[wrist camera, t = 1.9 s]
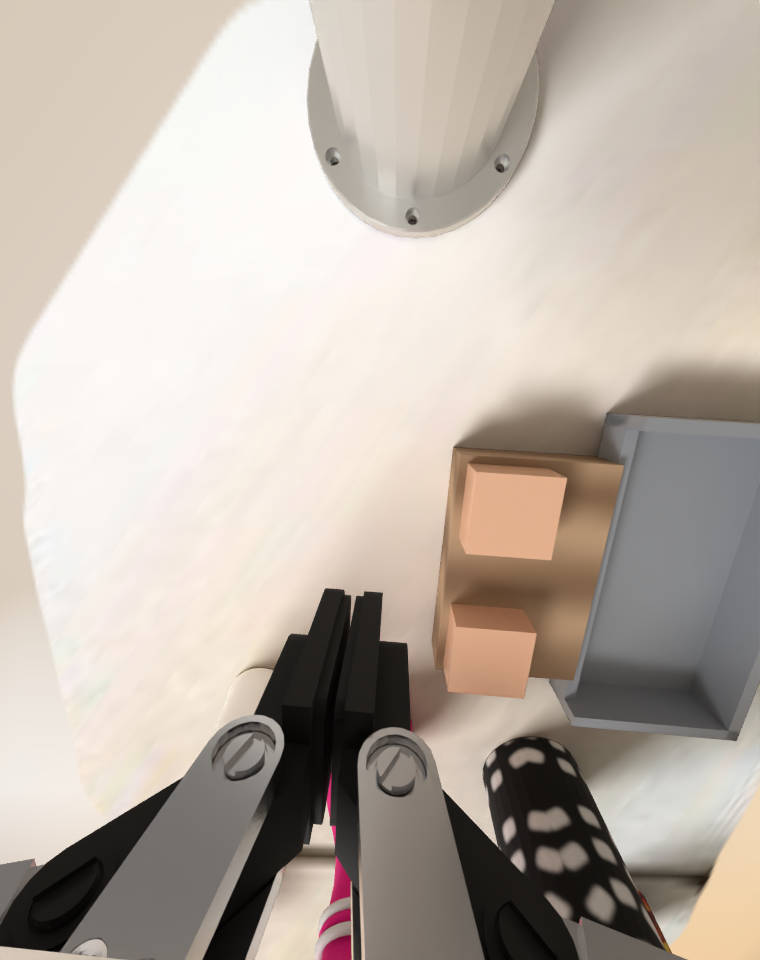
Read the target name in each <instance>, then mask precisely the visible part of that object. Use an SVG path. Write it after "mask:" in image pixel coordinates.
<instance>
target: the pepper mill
mask: <svg viewBox="0 0 760 960" xmlns="http://www.w3.org/2000/svg"><path fill="white" fill-rule="evenodd" d="M410 721H411V718H410ZM411 732H413V731H412V721H411ZM331 775H332V773H331ZM330 805H331V778H330V784H329V790H328V796H327V806H328V811H329V816H330ZM332 830H333V835H334V842H335V837H336V826H332ZM318 930H319V939H318V940H317V943H316V946H315V959H316V960H352V953H351V880H350V878H349V876H348V875H347V873H346V872H345V870H344V868H343V867H342V865H341V863H340V862H339V860H338V858H337V857H336V866H335V879H334V887H333V892H332V896H331V901H330V905H329V906H328V907H327V908H326V909H325V910H324V911H323V913H322V915H321V917H320V920H319V927H318Z"/></svg>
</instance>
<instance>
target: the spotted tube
mask: <svg viewBox="0 0 760 960" xmlns="http://www.w3.org/2000/svg"><path fill="white" fill-rule="evenodd" d="M483 780H484V785H485V790H486V794H487V799H488V803H489V808H490V812H491V817H492V821H493V826H494V830H495V835H496V839H497V844H498V848H499V849H500V850H501V851H502V852H503V853H504V854H505V855H506V856H507V857H508V858H509V860H510V861H511V862H512V863H513V864H514V865H515V866H516V867H517V868H518V869H519V870H520V871H521V872H522V873H523V874H524V875H525V876H526V877H527V878H528V879H529V880H530V882H531V883H532V884H533V885H534V886H535V887H536V888H537V889H538V890H539V891H540V892H541V893H542V894H543V895H544V896H545V897H546V898H547V899H548V901H549V902H550V903H551V905H552V906H553V907H554V908H555V910H556V911H557V912H558V913H559V915H560V916H561V917H563V918H566V919H568V920H570V921H573V922H575V923H578V924H579V921H580V918H581V917H583V918H586V919H588V920H591V921H593V922H596V923H598V924H601V925H603V926H606V927H608V928H610V929H613V930H615V931H618V932H620V933H623V934H625V935H628V936H630V937H633V938H635V939H638V940H640V941H642V942H645V943H647V944H650V945H652V946H655V947H657V948H660V949H662V950H665V951H666V949H665V947H664V945H663V943H662V941H661V939H660V937H659V935H658V932H657V930H656V928H655V926H654V924H653V922H652V920H651V918H650V916H649V914H648V912H647V910H646V907H645V905H644V903H643V901H642V899H641V897H640V895H639V893H638V891H637V889H636V887H635V885H634V882H633V880H632V878H631V876H630V874H629V872H628V870H627V868H626V866H625V864H624V862H623V860H622V857H621V855H620V853H619V851H618V849H617V847H616V845H615V843H614V841H613V839H612V837H611V834H610V832H609V830H608V828H607V826H606V824H605V822H604V820H603V818H602V816H601V814H600V812H599V809H598V807H597V805H596V803H595V801H594V799H593V797H592V795H591V793H590V791H589V789H588V787H587V784H586V782H585V780H584V778H583V776H582V774H581V772H580V770H579V768H578V766H577V764H576V762H575V759H574V758H573V756H572V755H571V753H570V752H569V751H568V750H567V749H566V748H564V747H563V746H561V745H560V744H558V743H556V742H554V741H551V740H548V739H544V738H537V737H527V738H519V739H515V740H512V741H509V742H507V743H505V744H503V745H501V746H500V747H498V748H497V749H495V750H494V751H493V752H492V753H491V754H490V755H489V757H488V758H487V760H486V762H485V765H484V767H483Z"/></svg>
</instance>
